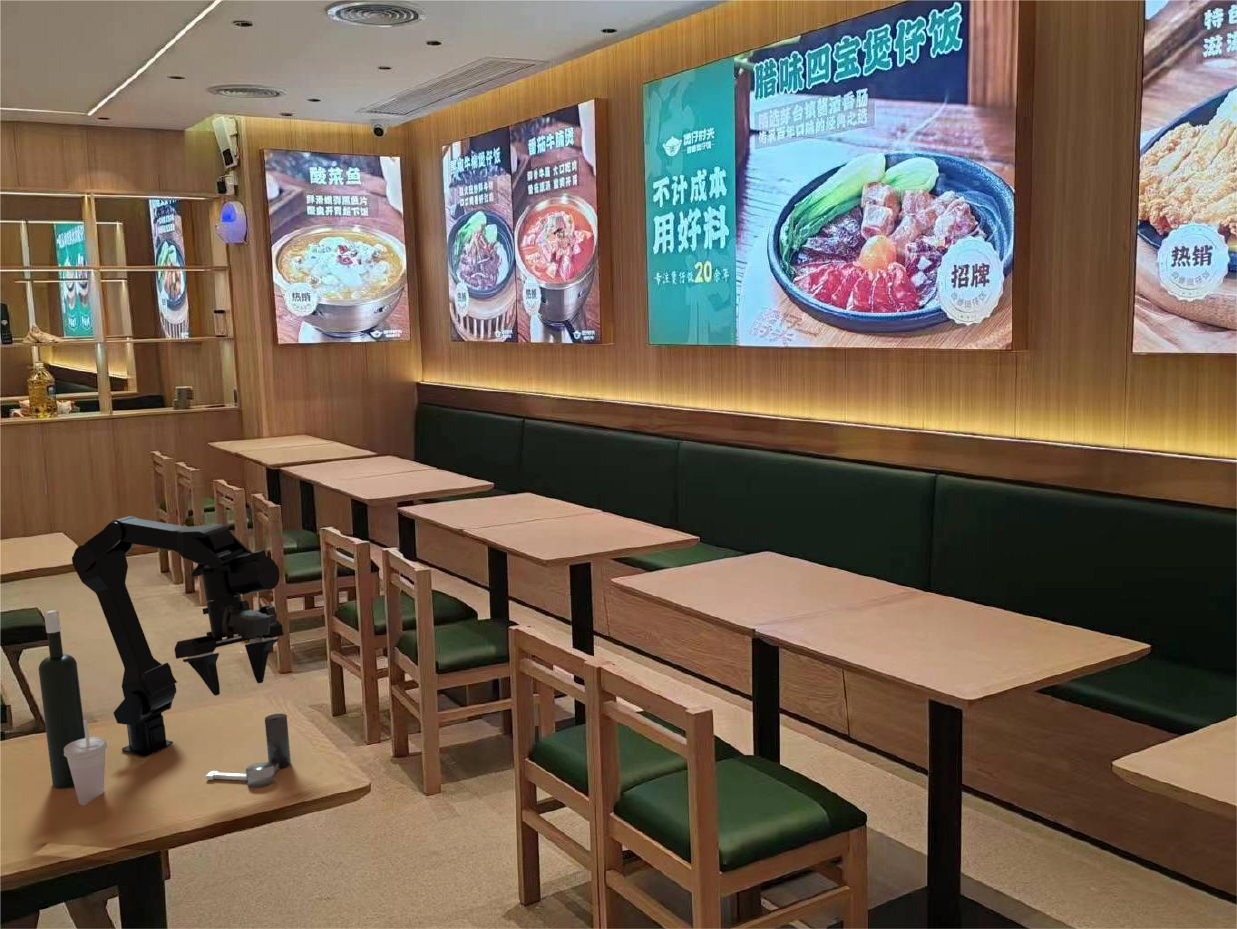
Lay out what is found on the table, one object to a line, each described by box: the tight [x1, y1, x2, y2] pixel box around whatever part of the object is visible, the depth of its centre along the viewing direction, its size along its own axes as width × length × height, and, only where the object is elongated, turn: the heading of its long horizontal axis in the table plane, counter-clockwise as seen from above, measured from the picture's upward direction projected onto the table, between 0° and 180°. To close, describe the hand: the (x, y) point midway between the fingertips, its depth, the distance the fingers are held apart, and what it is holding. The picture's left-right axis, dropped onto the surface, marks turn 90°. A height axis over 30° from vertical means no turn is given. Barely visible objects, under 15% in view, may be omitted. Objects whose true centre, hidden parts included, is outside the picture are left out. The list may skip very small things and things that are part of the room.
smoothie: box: [64, 718, 108, 807], centre depth 181 cm, size 6×6×14 cm
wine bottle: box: [38, 610, 85, 789], centre depth 187 cm, size 6×6×30 cm
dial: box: [205, 713, 292, 788], centre depth 187 cm, size 10×12×8 cm
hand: (239, 689), depth 189 cm, fingers open, 9 cm apart
